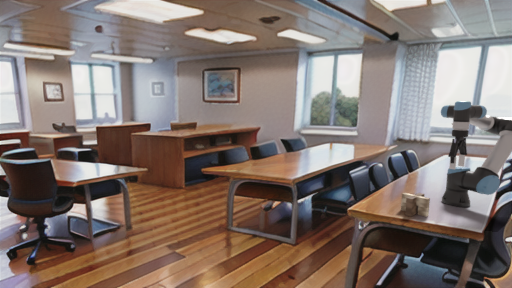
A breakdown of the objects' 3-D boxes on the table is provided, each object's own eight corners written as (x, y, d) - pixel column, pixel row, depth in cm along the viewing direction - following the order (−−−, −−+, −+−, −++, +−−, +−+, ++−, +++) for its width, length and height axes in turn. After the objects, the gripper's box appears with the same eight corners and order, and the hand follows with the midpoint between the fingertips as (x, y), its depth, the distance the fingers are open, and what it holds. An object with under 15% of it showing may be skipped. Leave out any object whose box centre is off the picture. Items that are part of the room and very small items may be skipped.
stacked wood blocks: (400, 210, 176) (401, 193, 175) (403, 208, 178) (404, 192, 177) (426, 216, 165) (427, 199, 164) (428, 215, 167) (429, 198, 166)
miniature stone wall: (417, 209, 178) (419, 192, 176) (423, 210, 175) (424, 194, 174) (405, 215, 168) (406, 197, 166) (410, 216, 165) (412, 199, 164)
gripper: (460, 128, 176) (457, 164, 178) (444, 130, 160) (440, 169, 163) (475, 129, 170) (472, 166, 172) (460, 131, 154) (456, 171, 157)
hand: (456, 167), depth 168 cm, fingers open, 13 cm apart
